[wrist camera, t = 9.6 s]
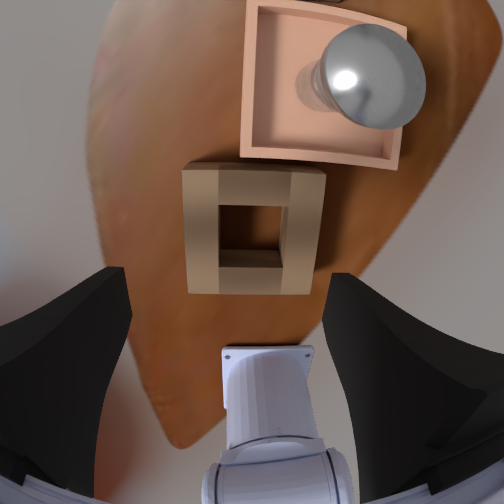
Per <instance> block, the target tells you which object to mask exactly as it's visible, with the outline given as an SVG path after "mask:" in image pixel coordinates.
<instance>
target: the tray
mask: <svg viewBox="0 0 504 504" xmlns="http://www.w3.org/2000/svg"><path fill="white" fill-rule="evenodd" d="M368 23H369V24H377V25H381V26H384V27H387V28H389V29H391V30H393V31H395V32H396V33H398V34H399V35H401V36H402V37H403V38H404V39H405V40H406V41H407V27H405V26H402V25H399V24H396V23H393V22H390V21H387V20H384V19H380V18H377V17H374V16H370V15H366V14H363V13H359V12H355V11H350V10H346V9H342V8H337V7H332V6H327V5H321V4H315V3H309V2H303V1H295V0H247V5H246V21H245V40H244V60H243V81H242V105H241V130H240V157H250V158H275V159H292V160H307V161H319V162H330V163H341V164H350V165H359V166H367V167H375V168H383V169H390V170H397V168H398V161H399V153H400V145H401V137H402V128H403V126H401V127H399V128H396V129H390V130H380V129H374V128H368V127H364V126H360V125H358V124H355V123H353V122H351V121H350V120H348V119H347V118H345V117H344V116H343V115H341V114H340V113H331V112H317V111H314V110H311V109H309V108H308V107H306V106H305V105H304V104H303V103H302V102H301V101H300V99H299V97H298V95H297V93H296V89H295V81H296V77H297V75H298V73H299V72H300V71H301V69H302V68H304V67H305V66H307V65H308V64H310V63H312V62H314V61H315V60H317V59H319V58H321V57H322V53H323V51H324V49H325V47H326V46H327V44H328V43H329V41H330V40H331V39H332V38H333V37H335V36H336V35H337V34H339V33H340V32H342V31H344V30H345V29H347V28H349V27H351V26H354V25H358V24H368Z"/></svg>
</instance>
